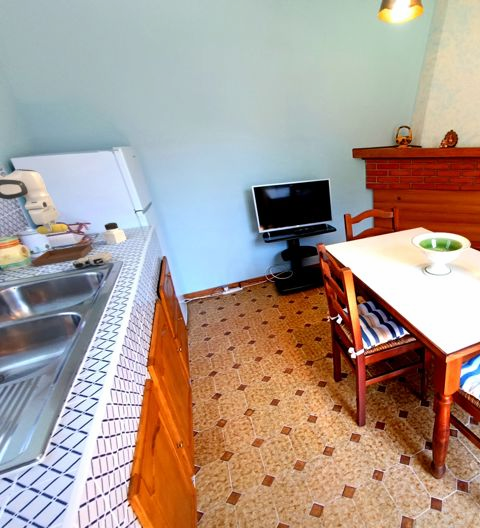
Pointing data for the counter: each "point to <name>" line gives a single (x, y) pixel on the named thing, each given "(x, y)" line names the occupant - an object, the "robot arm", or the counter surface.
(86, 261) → the robot toy
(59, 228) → the corn cob
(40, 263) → the tray
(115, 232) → the medicine bottle
